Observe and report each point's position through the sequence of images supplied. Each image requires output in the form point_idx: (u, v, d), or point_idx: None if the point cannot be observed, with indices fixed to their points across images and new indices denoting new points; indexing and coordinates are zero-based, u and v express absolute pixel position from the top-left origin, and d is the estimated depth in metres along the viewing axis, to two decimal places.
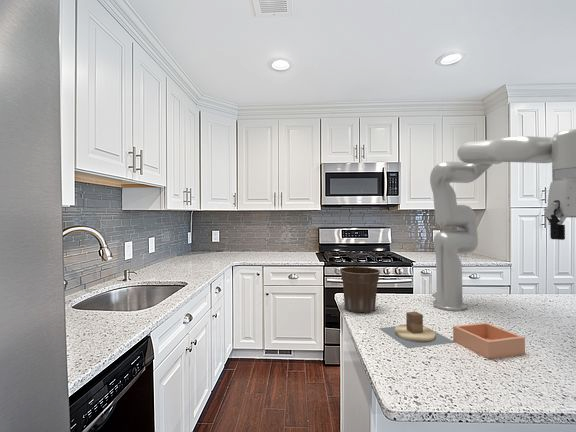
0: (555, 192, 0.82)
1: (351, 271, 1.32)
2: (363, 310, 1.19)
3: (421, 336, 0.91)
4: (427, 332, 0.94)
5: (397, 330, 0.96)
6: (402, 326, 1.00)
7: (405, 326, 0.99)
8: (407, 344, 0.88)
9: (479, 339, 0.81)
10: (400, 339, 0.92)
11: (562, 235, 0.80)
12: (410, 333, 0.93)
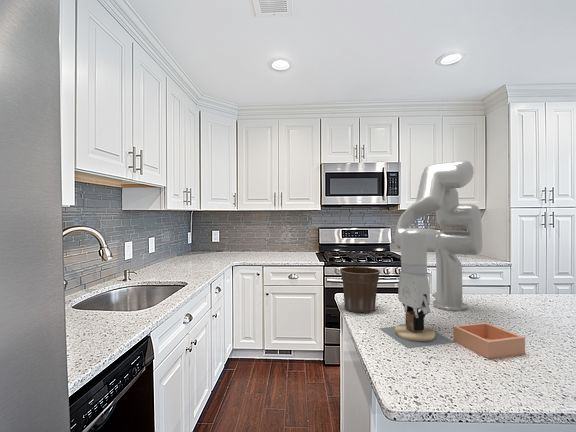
0: (423, 286, 0.90)
1: (351, 271, 1.32)
2: (363, 310, 1.19)
3: (421, 335, 0.91)
4: (427, 331, 0.94)
5: (397, 330, 0.96)
6: (402, 325, 1.00)
7: (405, 326, 0.99)
8: (407, 344, 0.88)
9: (479, 339, 0.81)
10: (400, 339, 0.92)
11: (423, 326, 0.93)
12: (410, 333, 0.93)
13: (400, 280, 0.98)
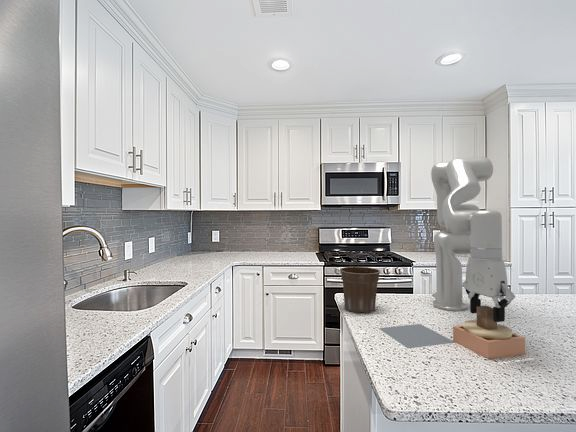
0: (501, 272, 0.81)
1: (351, 271, 1.32)
2: (363, 310, 1.19)
3: (498, 332, 0.82)
4: (502, 328, 0.85)
5: (467, 326, 0.86)
6: (470, 322, 0.90)
7: (473, 322, 0.90)
8: (407, 344, 0.88)
9: (479, 339, 0.81)
10: (400, 339, 0.92)
11: None
12: (483, 329, 0.84)
13: (469, 267, 0.88)
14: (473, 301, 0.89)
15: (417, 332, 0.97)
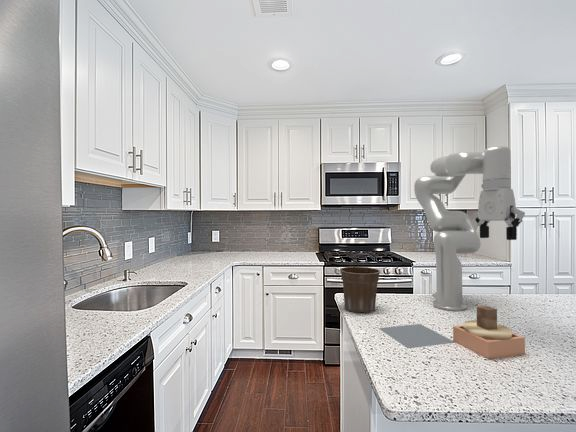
0: (510, 198, 0.93)
1: (351, 271, 1.32)
2: (363, 310, 1.19)
3: (498, 332, 0.82)
4: (502, 328, 0.85)
5: (467, 326, 0.86)
6: (470, 322, 0.90)
7: (473, 322, 0.90)
8: (407, 344, 0.88)
9: (479, 339, 0.81)
10: (400, 339, 0.92)
11: None
12: (483, 329, 0.84)
13: (481, 199, 1.01)
14: (482, 227, 1.02)
15: (417, 332, 0.97)
